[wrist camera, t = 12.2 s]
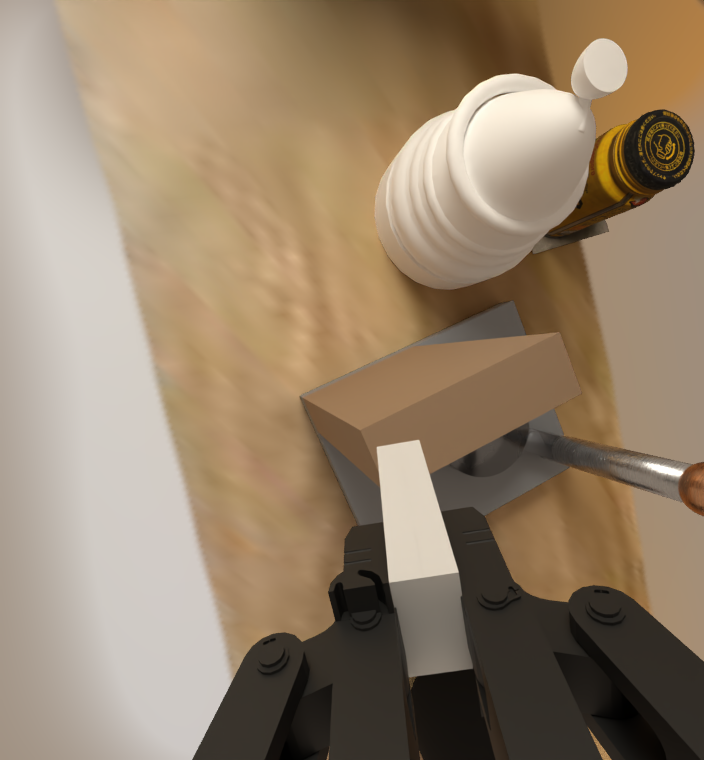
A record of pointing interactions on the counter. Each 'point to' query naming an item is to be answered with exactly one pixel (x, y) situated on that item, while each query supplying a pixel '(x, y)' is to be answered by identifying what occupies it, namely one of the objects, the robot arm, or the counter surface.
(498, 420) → the stand
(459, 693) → the coffee jar
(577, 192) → the honey pot
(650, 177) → the condiment
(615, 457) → the ball top joystick
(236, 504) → the counter surface
